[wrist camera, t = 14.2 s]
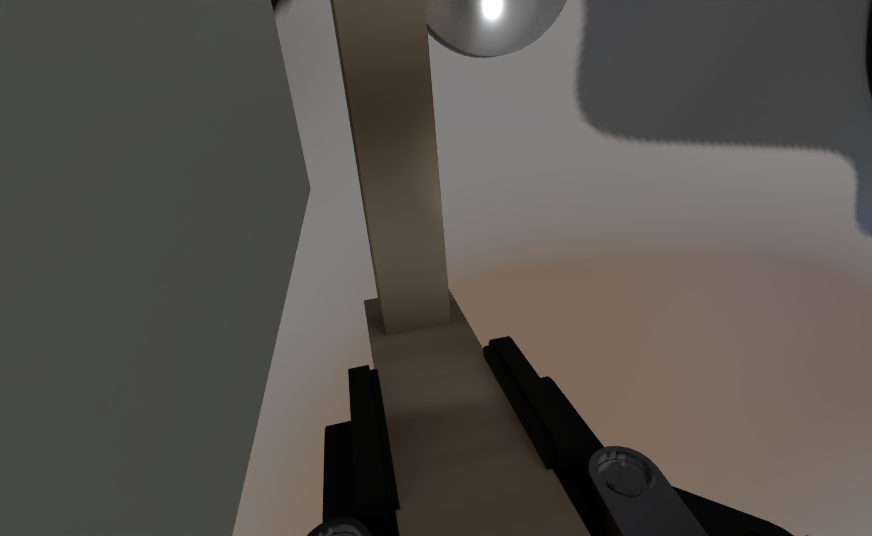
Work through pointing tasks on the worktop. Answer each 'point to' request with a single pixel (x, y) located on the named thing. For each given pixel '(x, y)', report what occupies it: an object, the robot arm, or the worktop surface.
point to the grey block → (139, 259)
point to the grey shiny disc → (489, 24)
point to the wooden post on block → (430, 306)
